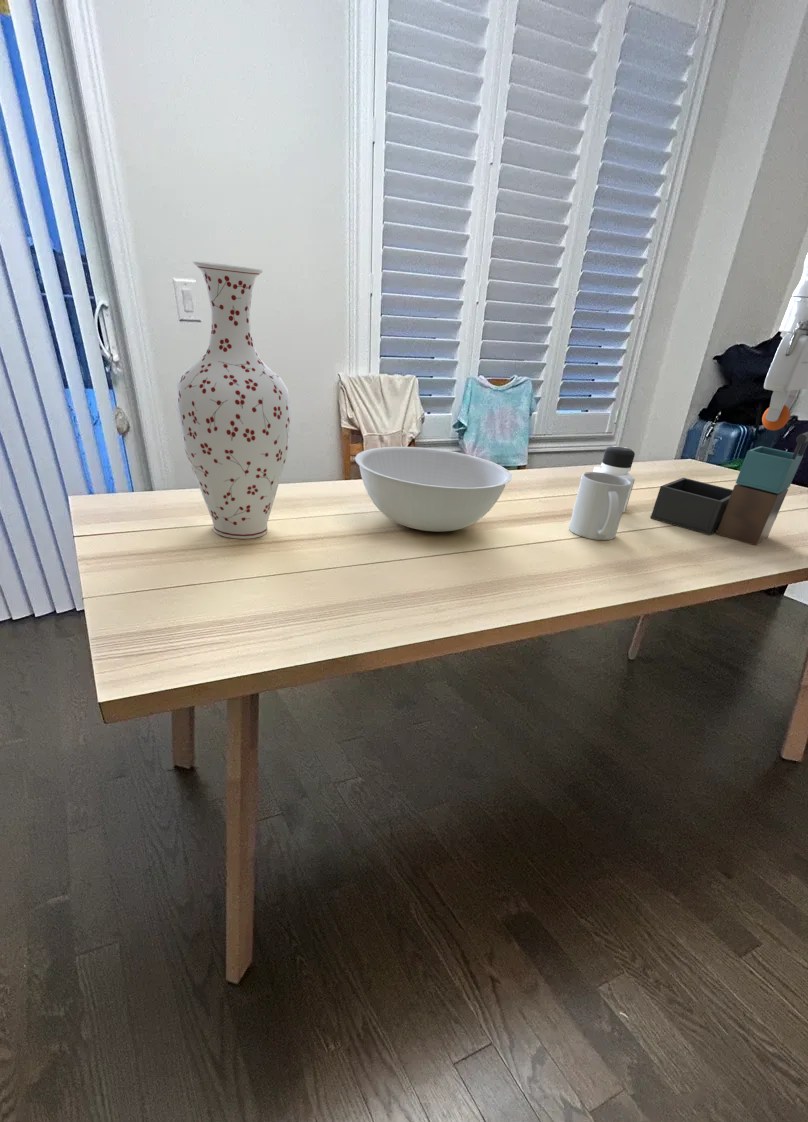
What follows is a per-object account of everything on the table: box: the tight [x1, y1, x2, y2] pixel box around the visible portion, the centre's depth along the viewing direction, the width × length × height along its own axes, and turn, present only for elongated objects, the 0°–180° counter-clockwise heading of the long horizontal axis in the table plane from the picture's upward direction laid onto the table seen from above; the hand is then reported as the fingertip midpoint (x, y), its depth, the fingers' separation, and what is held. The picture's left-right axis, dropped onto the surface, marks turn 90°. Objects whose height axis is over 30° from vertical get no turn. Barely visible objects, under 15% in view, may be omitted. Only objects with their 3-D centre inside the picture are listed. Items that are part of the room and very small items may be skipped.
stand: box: [715, 483, 789, 546], centre depth 127 cm, size 8×9×10 cm
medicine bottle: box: [592, 445, 636, 513], centre depth 134 cm, size 7×7×12 cm
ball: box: [761, 405, 791, 431], centre depth 105 cm, size 4×4×4 cm
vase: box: [176, 260, 292, 540], centre depth 92 cm, size 16×16×35 cm
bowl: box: [354, 446, 513, 533], centre depth 112 cm, size 27×27×10 cm
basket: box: [650, 477, 733, 536], centre depth 133 cm, size 13×14×7 cm
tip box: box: [735, 431, 808, 494], centre depth 121 cm, size 8×9×10 cm
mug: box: [568, 471, 631, 541], centre depth 117 cm, size 11×10×10 cm
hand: (775, 419), depth 106 cm, fingers closed on ball, 4 cm apart
